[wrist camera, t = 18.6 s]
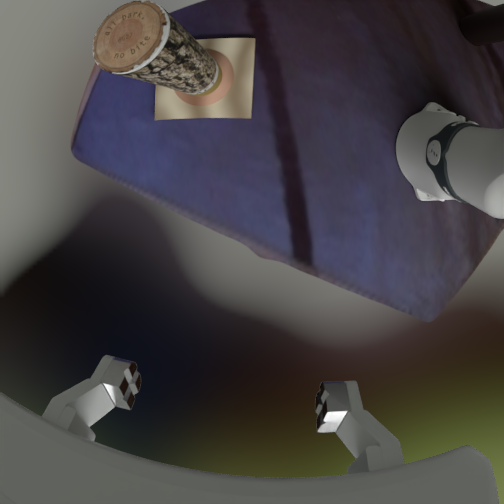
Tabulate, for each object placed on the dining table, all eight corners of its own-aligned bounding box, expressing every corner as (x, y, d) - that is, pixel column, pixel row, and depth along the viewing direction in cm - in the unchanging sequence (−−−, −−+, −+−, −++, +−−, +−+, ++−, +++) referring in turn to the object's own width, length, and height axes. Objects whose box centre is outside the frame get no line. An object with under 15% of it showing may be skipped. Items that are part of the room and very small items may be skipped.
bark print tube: (179, 63, 36) (92, 18, 13) (221, 55, 35) (166, -11, 13) (183, 100, 39) (93, 84, 16) (225, 93, 38) (170, 59, 16)
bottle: (459, 12, 25) (518, -9, 7) (482, 30, 26) (542, 18, 8) (457, 33, 28) (521, 16, 10) (480, 52, 29) (545, 44, 11)
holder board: (255, 40, 35) (255, 37, 34) (251, 118, 41) (250, 118, 40) (161, 46, 36) (158, 43, 34) (158, 120, 42) (154, 120, 40)
